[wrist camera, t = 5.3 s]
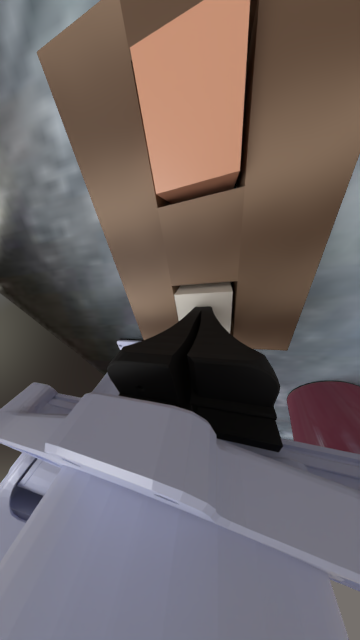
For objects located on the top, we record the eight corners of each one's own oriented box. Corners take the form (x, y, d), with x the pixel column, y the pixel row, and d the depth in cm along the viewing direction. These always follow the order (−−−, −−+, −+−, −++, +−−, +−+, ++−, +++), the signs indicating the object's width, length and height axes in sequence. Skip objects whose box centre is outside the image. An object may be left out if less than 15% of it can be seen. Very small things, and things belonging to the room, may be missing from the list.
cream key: (227, 317, 14) (229, 339, 11) (188, 317, 15) (181, 337, 12) (228, 277, 12) (232, 291, 9) (183, 281, 13) (173, 294, 10)
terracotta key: (232, 190, 9) (239, 170, 6) (173, 205, 10) (156, 194, 7) (237, 79, 7) (252, -31, 4) (161, 114, 8) (129, 47, 5)
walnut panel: (271, 324, 15) (287, 350, 12) (157, 324, 19) (145, 343, 15) (359, -23, 6) (548, -360, 2) (98, 113, 9) (36, 51, 6)
